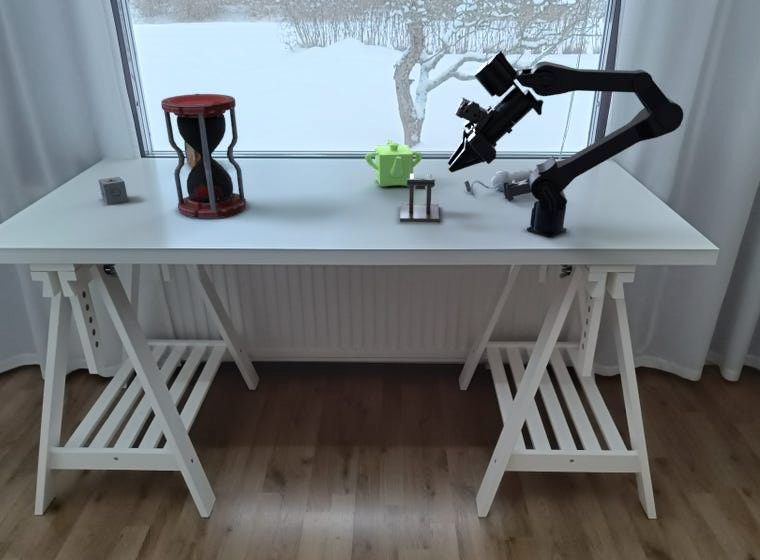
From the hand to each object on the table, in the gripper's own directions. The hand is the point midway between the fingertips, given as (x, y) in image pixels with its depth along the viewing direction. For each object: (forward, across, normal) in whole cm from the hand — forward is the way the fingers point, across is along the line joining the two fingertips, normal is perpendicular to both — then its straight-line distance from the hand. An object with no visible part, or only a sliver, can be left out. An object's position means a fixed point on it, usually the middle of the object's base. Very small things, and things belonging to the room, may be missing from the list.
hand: (449, 167), depth 141 cm
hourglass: (+50, -11, -30) cm, 59 cm away
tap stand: (+14, -8, +5) cm, 17 cm away
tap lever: (+8, -4, 0) cm, 9 cm away
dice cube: (+68, -16, -48) cm, 85 cm away
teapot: (+19, -35, 0) cm, 40 cm away
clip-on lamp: (0, -27, +20) cm, 34 cm away
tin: (+61, -49, -41) cm, 88 cm away
